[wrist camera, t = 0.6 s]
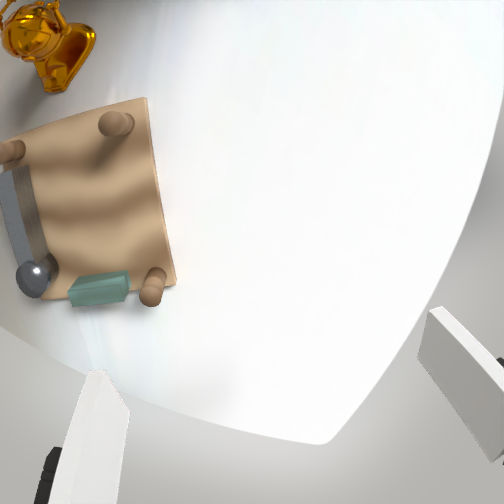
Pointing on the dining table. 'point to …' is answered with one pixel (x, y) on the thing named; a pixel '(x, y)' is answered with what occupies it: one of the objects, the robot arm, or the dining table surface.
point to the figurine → (47, 42)
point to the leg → (26, 233)
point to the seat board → (98, 203)
